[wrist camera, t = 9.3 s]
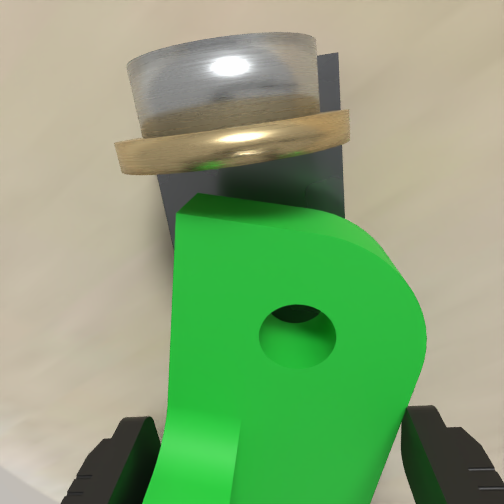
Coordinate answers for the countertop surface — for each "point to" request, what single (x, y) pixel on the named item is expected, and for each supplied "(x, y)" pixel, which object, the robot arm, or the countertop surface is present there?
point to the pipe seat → (241, 125)
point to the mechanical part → (282, 358)
